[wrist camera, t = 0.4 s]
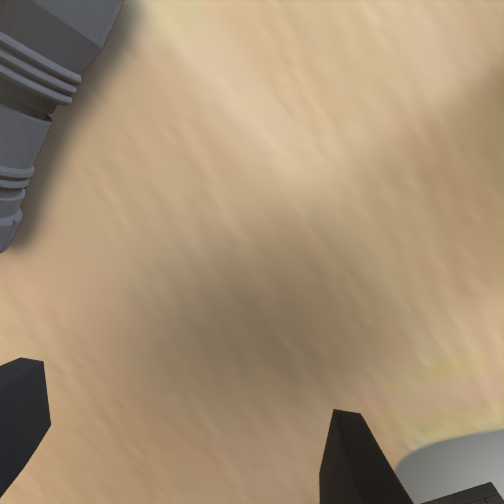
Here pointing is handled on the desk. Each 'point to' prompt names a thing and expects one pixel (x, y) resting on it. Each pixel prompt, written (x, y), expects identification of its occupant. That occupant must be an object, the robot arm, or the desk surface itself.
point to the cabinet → (472, 496)
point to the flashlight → (40, 82)
